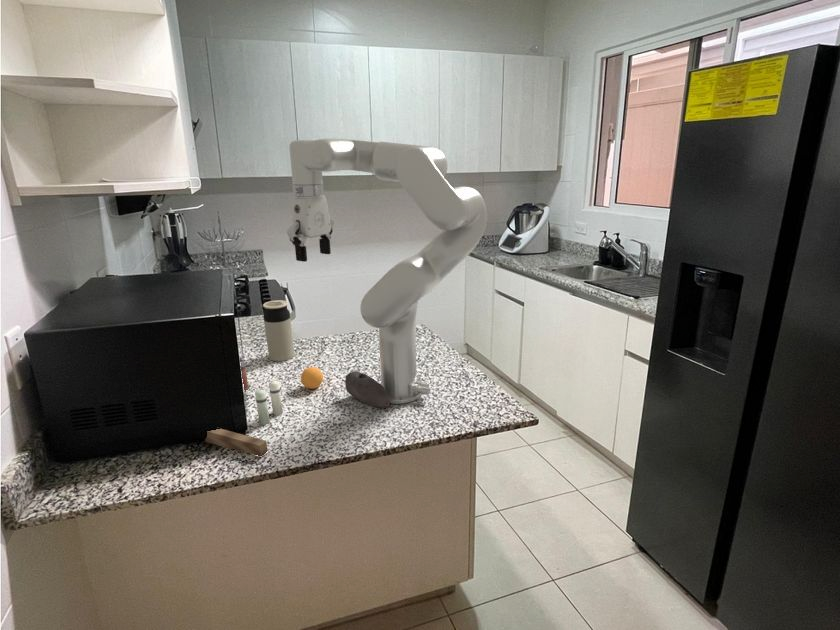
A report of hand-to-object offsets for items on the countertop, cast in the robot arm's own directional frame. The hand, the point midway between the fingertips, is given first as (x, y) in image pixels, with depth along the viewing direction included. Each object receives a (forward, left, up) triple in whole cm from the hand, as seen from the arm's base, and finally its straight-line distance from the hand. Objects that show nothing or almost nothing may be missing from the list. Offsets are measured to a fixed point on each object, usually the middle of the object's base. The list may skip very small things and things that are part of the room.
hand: (314, 257), depth 130 cm
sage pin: (0, +26, -36) cm, 44 cm away
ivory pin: (0, +21, -36) cm, 42 cm away
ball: (0, +6, -33) cm, 33 cm away
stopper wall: (0, +37, -36) cm, 51 cm away
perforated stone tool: (-19, +7, -36) cm, 42 cm away
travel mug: (+22, -8, -36) cm, 43 cm away
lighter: (+20, +14, -36) cm, 43 cm away
